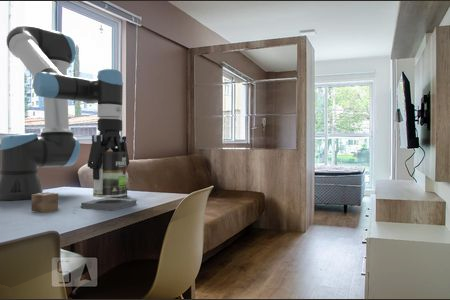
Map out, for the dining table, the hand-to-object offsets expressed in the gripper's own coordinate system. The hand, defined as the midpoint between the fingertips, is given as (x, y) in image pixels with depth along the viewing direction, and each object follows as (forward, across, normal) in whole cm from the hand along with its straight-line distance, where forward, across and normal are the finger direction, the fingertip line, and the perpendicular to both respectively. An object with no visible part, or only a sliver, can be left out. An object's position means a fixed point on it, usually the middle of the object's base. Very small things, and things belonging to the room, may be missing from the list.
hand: (109, 188), depth 113 cm
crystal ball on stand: (+6, +17, +10) cm, 21 cm away
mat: (+6, 0, 0) cm, 6 cm away
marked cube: (+6, -14, +12) cm, 19 cm away
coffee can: (+3, 0, 0) cm, 3 cm away
